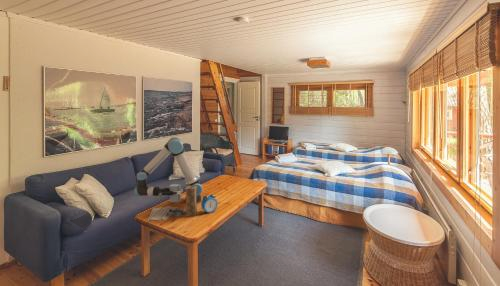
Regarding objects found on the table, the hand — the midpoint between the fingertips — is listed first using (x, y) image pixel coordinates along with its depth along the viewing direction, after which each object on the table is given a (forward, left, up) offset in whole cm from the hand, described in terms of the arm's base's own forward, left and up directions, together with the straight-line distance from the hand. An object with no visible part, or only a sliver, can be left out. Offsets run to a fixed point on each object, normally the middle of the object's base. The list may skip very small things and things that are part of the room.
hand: (181, 191), depth 220 cm
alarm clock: (-14, +18, -18) cm, 29 cm away
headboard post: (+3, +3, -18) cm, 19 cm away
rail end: (+3, -4, -8) cm, 10 cm away
